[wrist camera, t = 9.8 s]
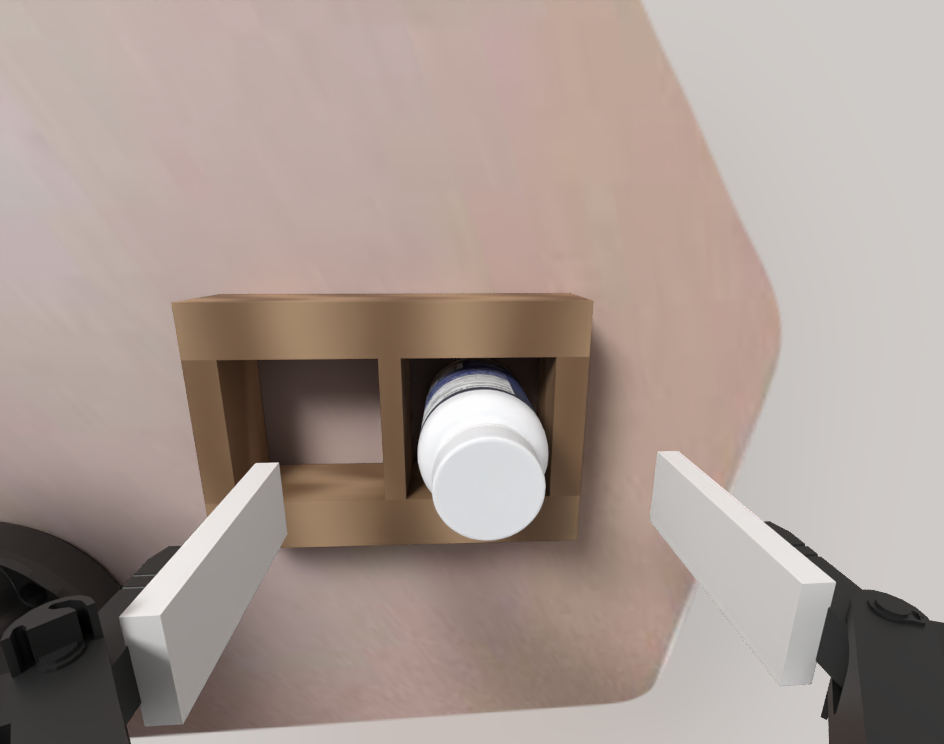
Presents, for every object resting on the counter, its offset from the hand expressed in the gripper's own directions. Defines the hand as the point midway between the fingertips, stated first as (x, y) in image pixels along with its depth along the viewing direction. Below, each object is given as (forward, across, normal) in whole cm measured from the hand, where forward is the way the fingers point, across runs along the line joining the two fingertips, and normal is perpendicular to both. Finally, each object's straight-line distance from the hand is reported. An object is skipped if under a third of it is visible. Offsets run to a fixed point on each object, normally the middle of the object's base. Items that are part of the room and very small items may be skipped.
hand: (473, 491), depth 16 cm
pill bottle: (+10, +1, 0) cm, 10 cm away
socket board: (+10, -3, 0) cm, 10 cm away
